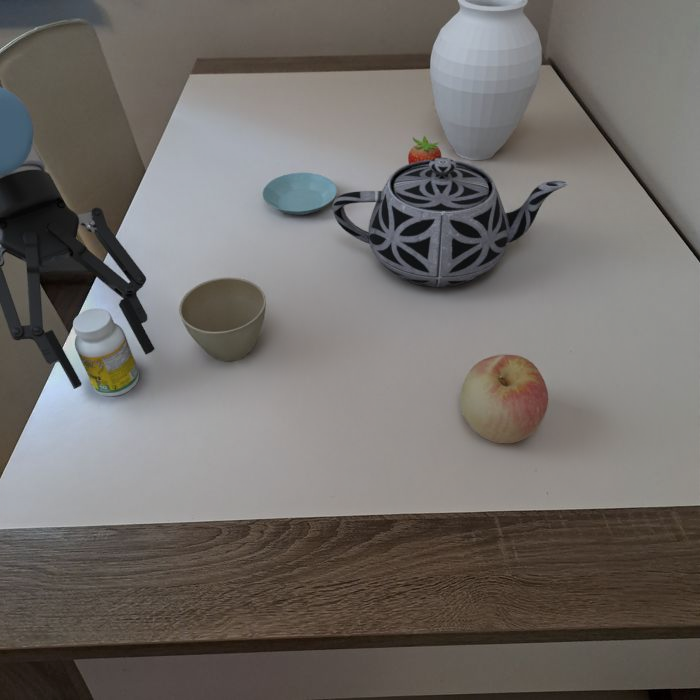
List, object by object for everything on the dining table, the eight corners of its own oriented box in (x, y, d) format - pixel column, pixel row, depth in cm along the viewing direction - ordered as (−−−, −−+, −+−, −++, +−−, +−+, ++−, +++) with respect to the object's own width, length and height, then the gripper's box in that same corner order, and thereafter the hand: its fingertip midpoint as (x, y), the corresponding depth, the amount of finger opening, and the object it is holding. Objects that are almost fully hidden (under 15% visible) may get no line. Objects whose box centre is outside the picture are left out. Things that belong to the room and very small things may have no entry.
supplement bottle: (148, 381, 76) (126, 319, 69) (106, 405, 73) (80, 343, 67) (125, 358, 79) (102, 297, 72) (85, 381, 76) (57, 319, 70)
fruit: (439, 175, 110) (442, 130, 104) (439, 190, 106) (443, 144, 100) (407, 174, 110) (409, 129, 104) (406, 190, 106) (408, 144, 101)
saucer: (351, 198, 105) (351, 185, 103) (305, 231, 98) (304, 218, 97) (296, 178, 110) (295, 165, 109) (249, 208, 103) (247, 195, 102)
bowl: (179, 372, 77) (165, 327, 72) (207, 317, 84) (196, 273, 79) (259, 381, 76) (251, 336, 71) (281, 325, 83) (275, 280, 78)
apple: (523, 390, 73) (535, 338, 68) (551, 451, 67) (567, 400, 61) (448, 399, 73) (454, 347, 67) (470, 463, 66) (478, 411, 61)
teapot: (565, 300, 85) (592, 199, 74) (332, 301, 86) (326, 202, 75) (538, 221, 98) (557, 127, 88) (337, 223, 100) (333, 130, 89)
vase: (489, 121, 124) (507, -25, 107) (546, 161, 112) (577, 3, 95) (407, 141, 119) (413, -9, 102) (458, 184, 107) (474, 23, 90)
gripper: (102, 166, 78) (191, 334, 80) (-82, 228, 69) (23, 415, 71) (106, 140, 71) (204, 323, 73) (-97, 203, 62) (20, 411, 64)
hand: (114, 368), depth 72 cm, fingers open, 8 cm apart
